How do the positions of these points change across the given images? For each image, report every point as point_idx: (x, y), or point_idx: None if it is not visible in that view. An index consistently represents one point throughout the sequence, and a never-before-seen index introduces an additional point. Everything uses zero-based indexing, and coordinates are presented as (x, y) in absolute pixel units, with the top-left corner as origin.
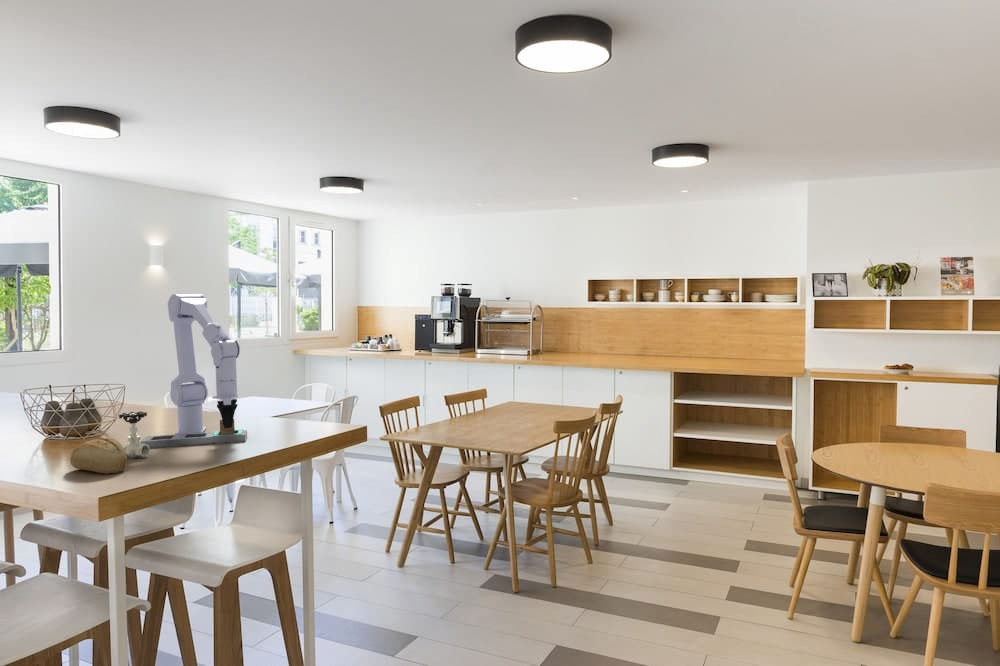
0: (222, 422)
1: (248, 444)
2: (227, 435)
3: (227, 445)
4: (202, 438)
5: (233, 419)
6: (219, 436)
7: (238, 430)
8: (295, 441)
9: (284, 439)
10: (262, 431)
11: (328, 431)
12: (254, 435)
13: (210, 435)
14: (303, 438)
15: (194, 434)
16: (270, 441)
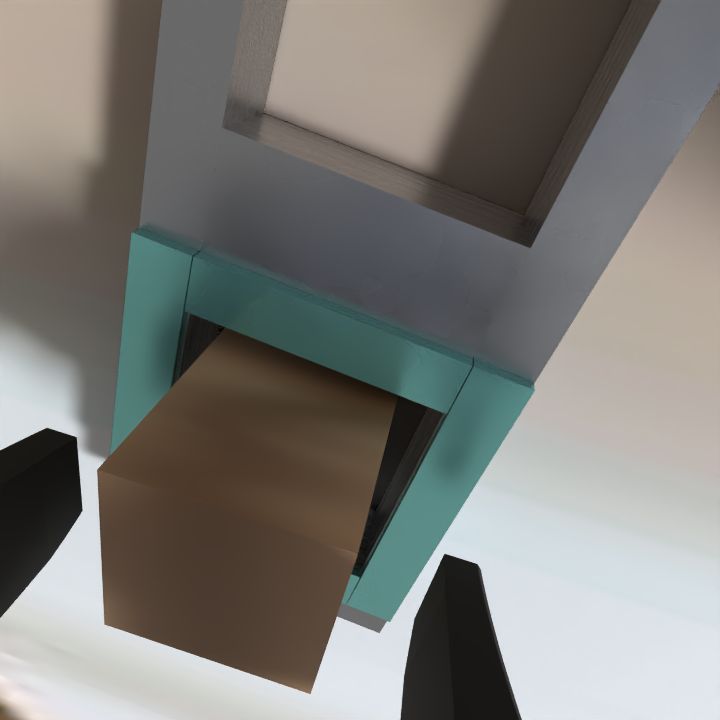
0: (102, 496)
1: (5, 447)
2: (117, 394)
3: (22, 302)
4: (165, 73)
5: (262, 671)
6: (128, 311)
7: (362, 572)
8: (6, 651)
9: (99, 650)
10: (543, 716)
11: None
12: (399, 619)
13: (274, 235)
14: (83, 706)
15: (653, 12)
16: (66, 581)
